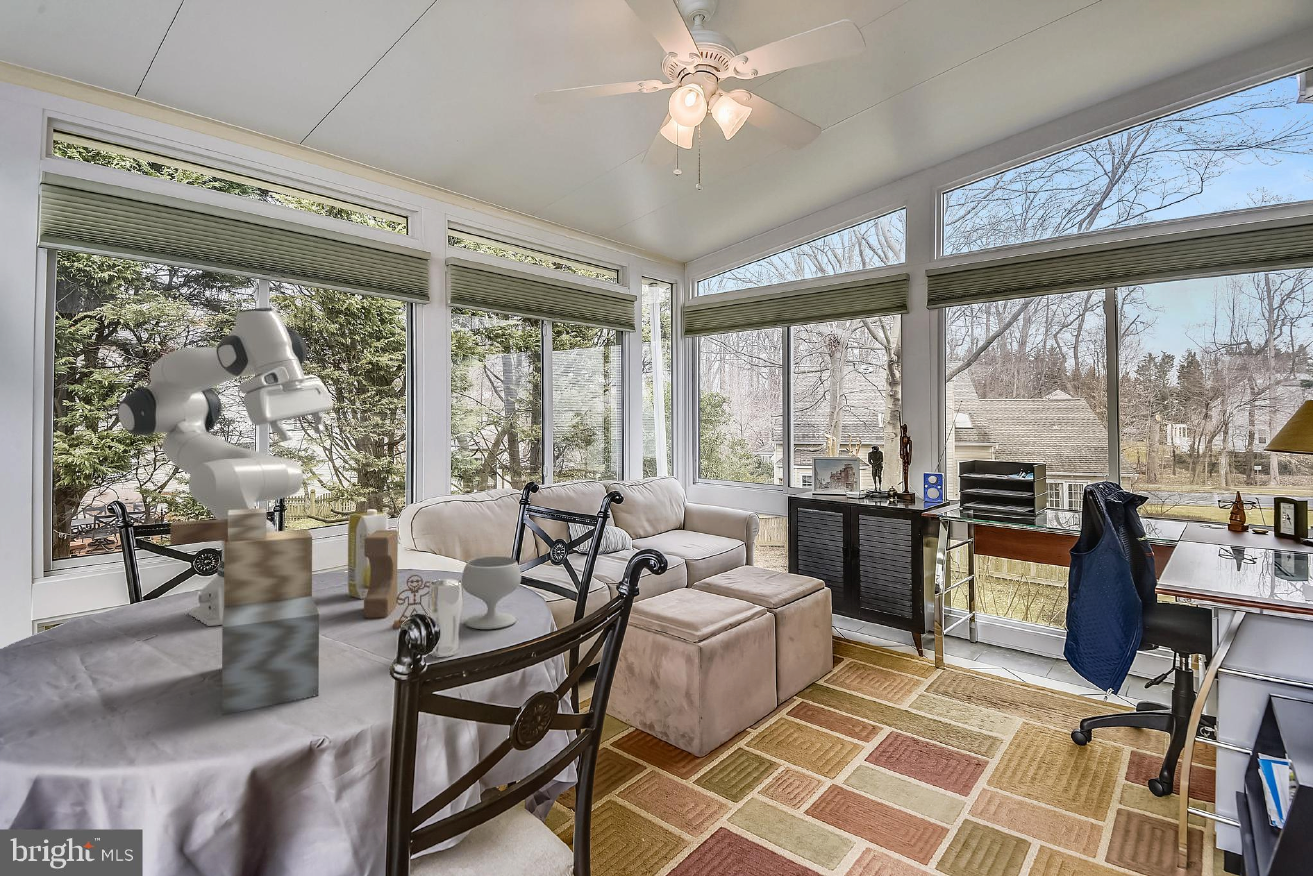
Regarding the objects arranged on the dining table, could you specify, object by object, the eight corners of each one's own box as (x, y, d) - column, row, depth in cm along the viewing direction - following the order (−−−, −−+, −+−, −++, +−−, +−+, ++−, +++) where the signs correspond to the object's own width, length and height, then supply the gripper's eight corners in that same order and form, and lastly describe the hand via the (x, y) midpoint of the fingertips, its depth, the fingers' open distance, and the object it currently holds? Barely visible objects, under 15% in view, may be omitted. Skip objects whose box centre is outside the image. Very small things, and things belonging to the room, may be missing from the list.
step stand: (221, 714, 102) (222, 557, 102) (225, 667, 122) (225, 534, 121) (318, 695, 110) (319, 549, 109) (306, 653, 129) (307, 529, 129)
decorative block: (387, 618, 154) (387, 537, 153) (362, 618, 153) (363, 537, 152) (398, 605, 165) (398, 529, 164) (375, 605, 164) (376, 530, 163)
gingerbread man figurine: (394, 629, 146) (395, 578, 145) (393, 624, 149) (394, 574, 149) (434, 624, 149) (435, 575, 149) (433, 620, 153) (433, 571, 153)
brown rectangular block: (169, 546, 110) (169, 517, 109) (173, 539, 115) (173, 512, 115) (266, 539, 118) (266, 512, 118) (265, 533, 123) (265, 508, 123)
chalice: (464, 635, 142) (465, 570, 142) (458, 617, 155) (458, 557, 155) (525, 628, 148) (526, 565, 148) (514, 611, 161) (515, 553, 160)
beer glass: (442, 661, 127) (443, 588, 126) (420, 654, 130) (421, 582, 130) (469, 651, 133) (470, 581, 132) (447, 644, 136) (448, 576, 136)
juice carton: (360, 600, 168) (361, 512, 167) (343, 596, 172) (344, 509, 171) (391, 593, 175) (392, 508, 175) (375, 589, 180) (375, 506, 179)
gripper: (307, 377, 150) (328, 431, 152) (231, 387, 131) (256, 449, 132) (327, 369, 148) (348, 424, 150) (253, 378, 129) (277, 441, 130)
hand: (304, 436), depth 141 cm, fingers open, 8 cm apart
